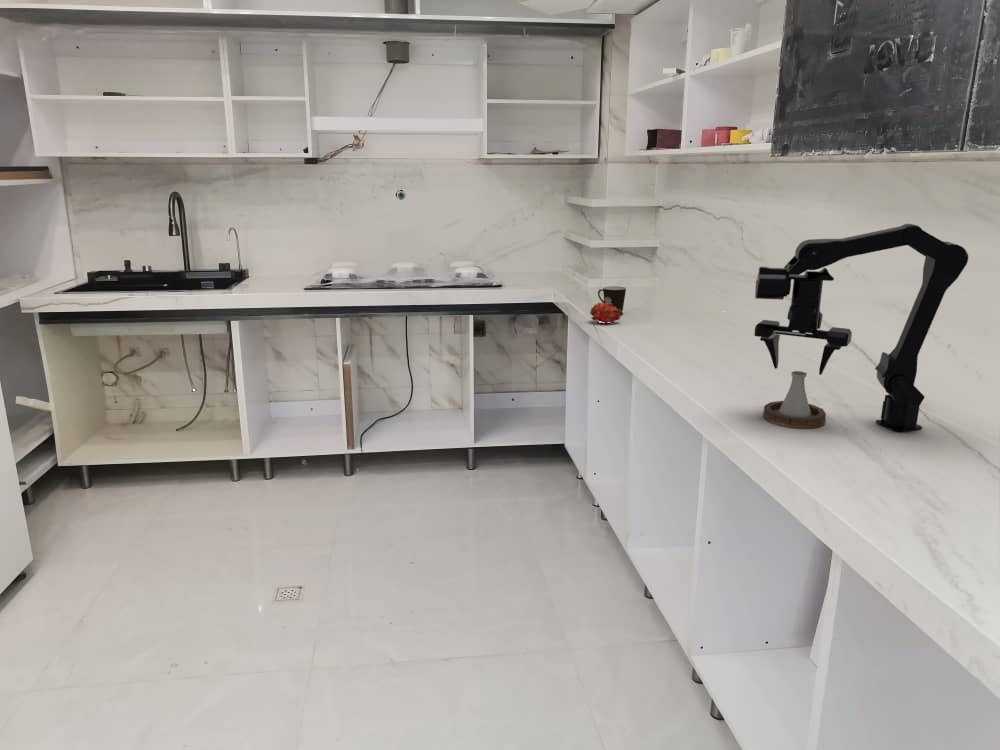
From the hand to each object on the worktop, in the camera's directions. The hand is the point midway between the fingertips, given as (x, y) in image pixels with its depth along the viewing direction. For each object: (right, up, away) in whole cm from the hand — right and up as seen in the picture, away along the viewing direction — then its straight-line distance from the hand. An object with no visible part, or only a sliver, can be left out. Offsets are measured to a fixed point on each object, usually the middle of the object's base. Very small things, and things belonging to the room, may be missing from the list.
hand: (797, 371), depth 158 cm
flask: (0, -10, +3) cm, 11 cm away
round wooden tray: (0, -11, +3) cm, 11 cm away
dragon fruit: (-27, +17, +102) cm, 107 cm away
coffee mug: (-22, +23, +119) cm, 123 cm away
